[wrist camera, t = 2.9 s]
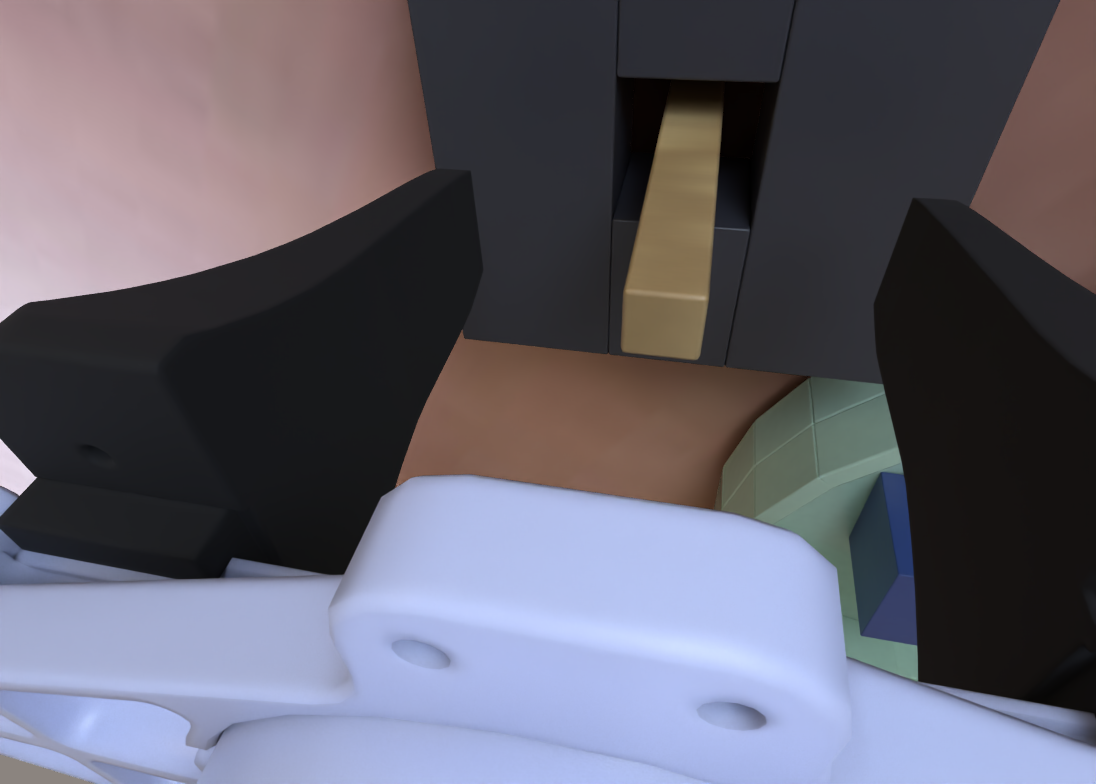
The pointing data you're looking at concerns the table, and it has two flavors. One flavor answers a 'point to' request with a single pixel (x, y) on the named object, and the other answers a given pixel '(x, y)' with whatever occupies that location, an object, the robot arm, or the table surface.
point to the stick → (676, 228)
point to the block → (885, 563)
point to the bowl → (821, 485)
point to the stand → (743, 185)
